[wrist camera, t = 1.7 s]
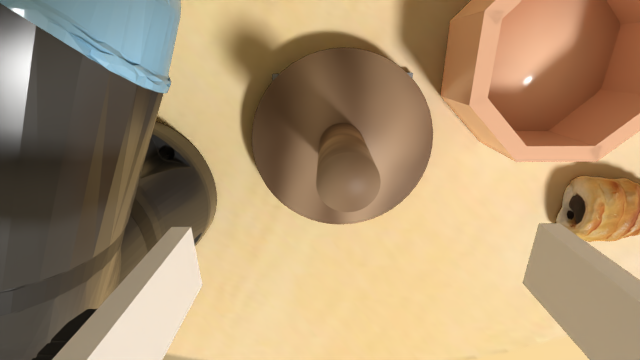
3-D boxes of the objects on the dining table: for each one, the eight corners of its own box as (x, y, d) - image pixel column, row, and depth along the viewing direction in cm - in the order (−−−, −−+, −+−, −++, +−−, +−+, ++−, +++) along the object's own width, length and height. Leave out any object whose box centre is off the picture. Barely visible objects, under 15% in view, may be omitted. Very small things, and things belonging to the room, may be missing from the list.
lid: (261, 218, 32) (234, 286, 22) (246, 49, 26) (200, 44, 17) (418, 218, 32) (458, 287, 22) (439, 47, 26) (505, 40, 16)
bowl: (434, 142, 29) (459, 162, 24) (457, -41, 24) (497, -71, 18) (590, 141, 29) (654, 161, 23) (649, -45, 24) (749, -76, 18)
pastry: (663, 174, 30) (708, 190, 27) (635, 234, 33) (672, 256, 29) (566, 171, 30) (598, 187, 27) (545, 231, 33) (572, 252, 29)
